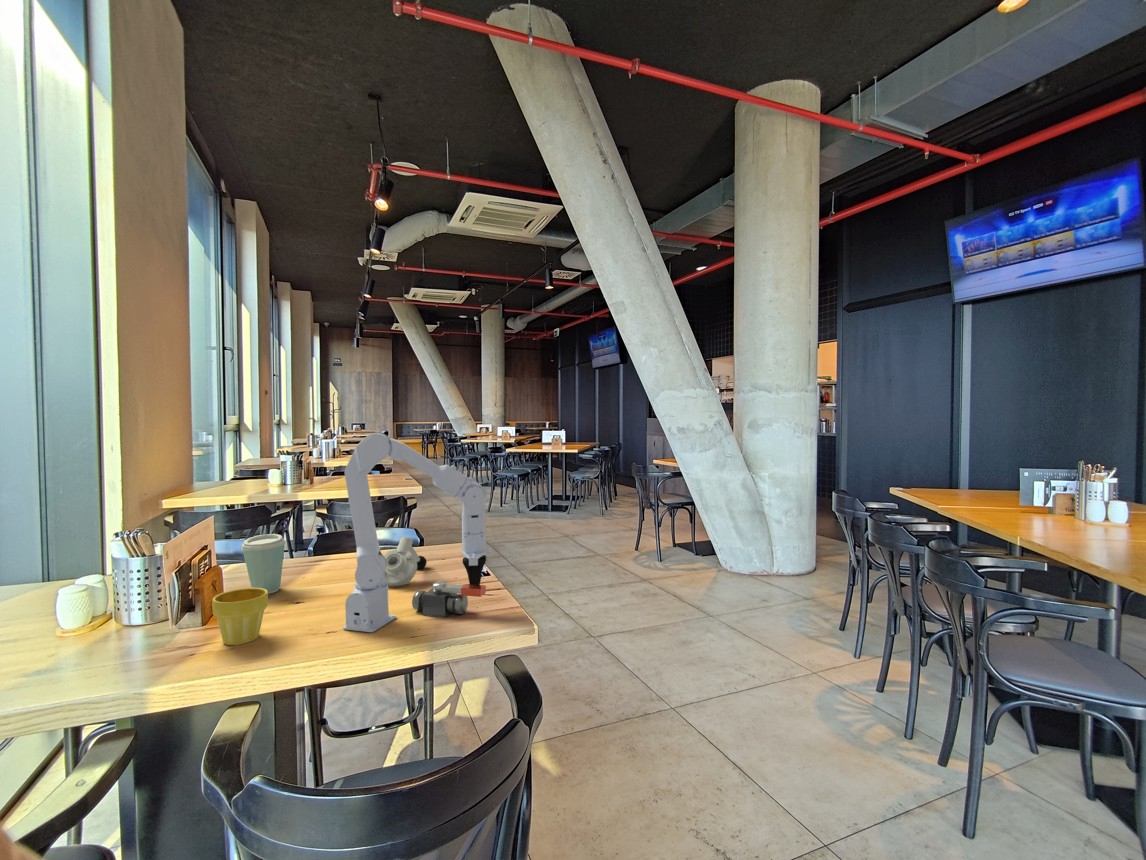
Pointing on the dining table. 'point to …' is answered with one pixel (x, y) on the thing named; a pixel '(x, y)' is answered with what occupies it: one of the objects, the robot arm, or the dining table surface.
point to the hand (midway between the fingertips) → (475, 586)
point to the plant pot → (240, 614)
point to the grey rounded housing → (402, 563)
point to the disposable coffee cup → (264, 561)
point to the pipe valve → (439, 603)
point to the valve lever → (460, 589)
